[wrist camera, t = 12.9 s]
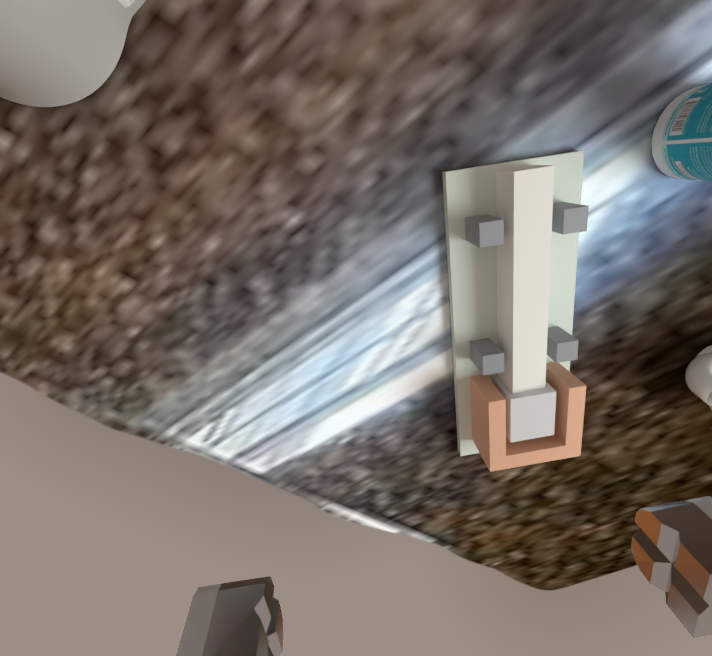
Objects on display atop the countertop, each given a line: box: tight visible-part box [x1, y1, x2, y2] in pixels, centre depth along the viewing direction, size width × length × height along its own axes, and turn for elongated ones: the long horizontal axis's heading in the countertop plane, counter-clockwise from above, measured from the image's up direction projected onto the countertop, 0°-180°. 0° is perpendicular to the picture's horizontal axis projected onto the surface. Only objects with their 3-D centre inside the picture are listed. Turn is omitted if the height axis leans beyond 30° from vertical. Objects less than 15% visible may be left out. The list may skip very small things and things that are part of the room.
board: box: [442, 151, 588, 472], centre depth 39 cm, size 30×12×6 cm, turn 8°
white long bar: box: [492, 165, 557, 443], centre depth 38 cm, size 25×4×4 cm, turn 8°
